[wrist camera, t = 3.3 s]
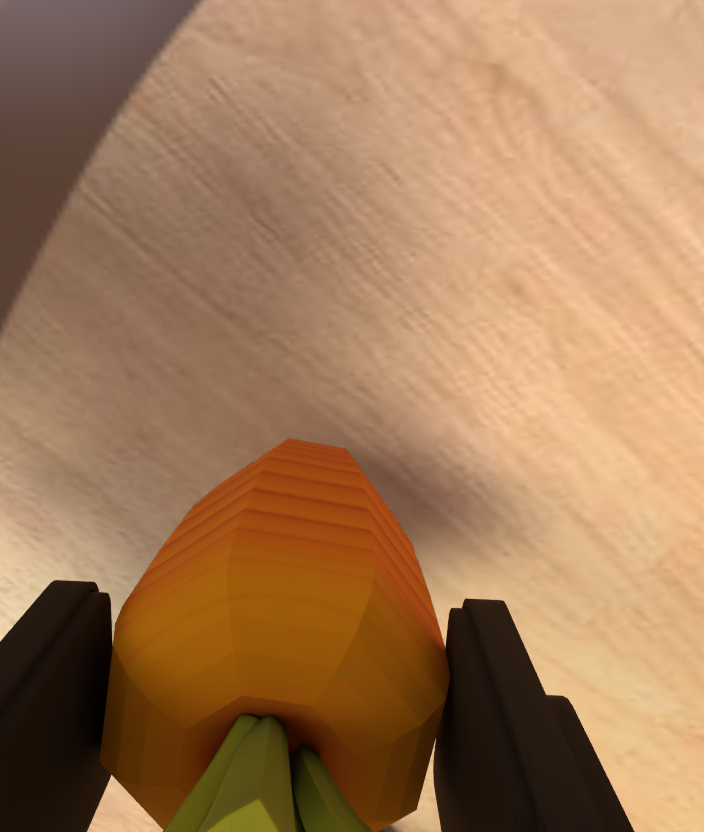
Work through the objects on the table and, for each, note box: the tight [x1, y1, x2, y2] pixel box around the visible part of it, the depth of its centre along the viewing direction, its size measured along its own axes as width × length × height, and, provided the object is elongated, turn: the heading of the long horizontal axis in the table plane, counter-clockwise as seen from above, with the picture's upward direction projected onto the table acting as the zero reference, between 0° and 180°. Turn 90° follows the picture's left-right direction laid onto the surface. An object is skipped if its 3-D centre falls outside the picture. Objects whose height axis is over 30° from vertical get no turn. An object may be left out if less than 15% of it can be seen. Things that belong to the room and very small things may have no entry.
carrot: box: [100, 439, 450, 832], centre depth 12 cm, size 5×5×15 cm
